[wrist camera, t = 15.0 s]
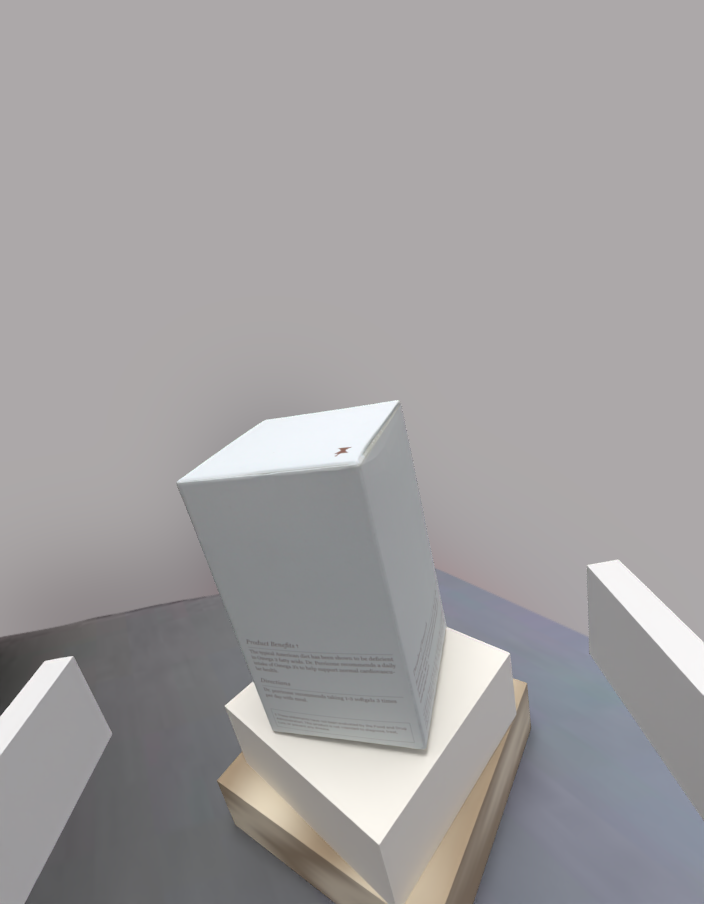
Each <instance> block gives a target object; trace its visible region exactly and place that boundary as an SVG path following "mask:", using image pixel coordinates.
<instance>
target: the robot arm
mask: <svg viewBox="0 0 704 904" xmlns="http://www.w3.org/2000/svg"><path fill="white" fill-rule="evenodd" d="M587 588H588V625H589V654H590V655H591V657H592V658H593V660H594V661H595V662H596V664H597V665H598V667H599V668H600V670H601V671H602V673H603V674H604V676H605V677H606V679H607V680H608V681H609V683H610V684H611V686H612V687H613V689H614V690H615V692H616V693H617V695H618V696H619V698H620V699H621V700H622V702H623V703H624V705H625V706H626V708H627V709H628V711H629V712H630V714H631V715H632V717H633V718H634V719H635V721H636V722H637V724H638V725H639V727H640V728H641V730H642V731H643V733H644V734H645V735H646V737H647V738H648V740H649V741H650V743H651V744H652V746H653V747H654V749H655V750H656V752H657V753H658V754H659V756H660V757H661V759H662V760H663V762H664V763H665V765H666V766H667V768H668V769H669V771H670V772H671V773H672V775H673V776H674V778H675V779H676V781H677V782H678V784H679V785H680V787H681V788H682V790H683V791H684V792H685V794H686V795H687V797H688V798H689V800H690V801H691V803H692V804H693V806H694V807H695V809H696V810H697V811H698V813H699V814H700V816H701V817H702V819H703V820H704V642H703V641H702V640H701V639H700V638H699V637H698V636H697V635H696V634H695V633H693V632H692V631H691V630H690V629H689V628H688V627H687V626H686V625H685V624H684V623H683V622H682V621H681V620H680V619H679V618H678V617H677V616H676V615H675V614H674V613H673V612H672V611H671V610H670V609H669V608H668V607H667V606H666V605H665V604H664V603H663V602H661V600H659V599H658V598H657V597H656V596H655V595H654V594H653V593H652V592H651V591H650V590H649V589H648V588H647V587H646V586H645V585H644V584H643V583H642V582H641V581H640V580H639V579H638V578H637V577H636V576H635V575H634V574H633V573H632V572H631V571H629V570H628V568H626V567H625V566H624V565H623V564H622V563H621V562H620V561H619V560H613V561H608V562H602V563H596V564H591V565H587ZM111 735H112V732H111V730H110V728H109V726H108V724H107V722H106V720H105V718H104V716H103V714H102V712H101V710H100V708H99V706H98V704H97V702H96V700H95V698H94V696H93V694H92V692H91V690H90V688H89V686H88V684H87V682H86V680H85V678H84V676H83V674H82V672H81V670H80V668H79V666H78V664H77V662H76V660H75V658H74V656H70V657H65V658H59V659H53V660H48V661H44V663H43V664H42V665H41V666H40V668H39V669H38V670H37V671H36V673H35V674H34V675H33V676H32V678H31V679H30V680H29V681H28V683H27V684H26V685H25V686H24V688H23V689H22V690H21V691H20V693H19V694H18V695H17V696H16V698H15V699H14V700H13V701H12V703H11V704H10V705H9V706H8V708H7V709H6V710H5V711H4V713H3V714H2V715H1V716H0V904H25V902H26V900H27V898H28V896H29V894H30V892H31V890H32V888H33V886H34V884H35V882H36V880H37V878H38V877H39V875H40V873H41V871H42V869H43V867H44V865H45V863H46V861H47V859H48V857H49V855H50V853H51V851H52V849H53V848H54V846H55V844H56V842H57V840H58V838H59V836H60V834H61V832H62V830H63V828H64V826H65V824H66V822H67V820H68V819H69V817H70V815H71V813H72V811H73V809H74V807H75V805H76V803H77V801H78V799H79V797H80V795H81V793H82V791H83V790H84V788H85V786H86V784H87V782H88V780H89V778H90V776H91V774H92V772H93V770H94V768H95V766H96V764H97V762H98V761H99V759H100V757H101V755H102V753H103V751H104V749H105V747H106V745H107V743H108V741H109V739H110V737H111Z"/></svg>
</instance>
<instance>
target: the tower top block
mask: <svg viewBox="0 0 704 904" xmlns="http://www.w3.org/2000/svg"><path fill="white" fill-rule="evenodd" d="M225 708H226V711H227V713H228V716H229V719H230V721H231V724H232V726H233V729H234V731H235V734H236V736H237V739H238V742H239V744H240V747H241V749H242V752H243V754H244V757H245V760H246V762H247V764H248V765H249V766H250V767H251V768H252V769H253V770H254V771H255V772H256V773H257V774H258V775H259V776H260V777H261V778H262V779H263V780H264V781H265V782H266V783H267V784H268V785H269V786H270V787H271V788H272V789H273V790H274V791H275V792H276V793H277V794H278V795H280V796H281V797H282V798H283V799H284V800H285V801H286V802H287V803H288V804H289V805H290V806H291V807H292V808H293V809H294V810H295V811H296V812H297V813H298V814H299V815H300V816H301V817H302V818H303V819H304V820H305V821H306V822H307V823H308V824H309V825H310V826H311V827H312V828H313V829H314V830H315V831H316V832H317V833H318V834H319V835H320V836H321V837H322V838H323V839H324V840H325V841H326V842H327V843H328V844H329V845H330V846H331V847H332V848H333V849H334V850H335V851H336V852H337V853H338V854H339V855H340V856H341V857H342V858H343V859H344V860H345V861H346V862H347V863H348V864H349V865H350V866H351V867H352V868H353V869H354V870H355V871H356V872H357V873H358V874H359V875H360V876H361V877H362V878H363V879H364V880H365V881H366V882H367V883H368V884H369V885H370V886H371V887H372V888H373V889H374V890H375V891H376V892H377V893H378V894H379V895H380V896H381V897H382V898H383V899H384V900H385V901H386V902H387V903H388V904H405V902H406V900H407V899H408V897H409V895H410V894H411V892H412V890H413V888H414V887H415V885H416V883H417V882H418V880H419V878H420V877H421V875H422V873H423V872H424V870H425V868H426V866H427V865H428V863H429V861H430V860H431V858H432V856H433V855H434V853H435V851H436V850H437V848H438V846H439V844H440V843H441V841H442V839H443V838H444V836H445V834H446V833H447V831H448V829H449V828H450V826H451V824H452V823H453V821H454V819H455V817H456V816H457V814H458V812H459V811H460V809H461V807H462V806H463V804H464V802H465V801H466V799H467V797H468V795H469V794H470V792H471V790H472V789H473V787H474V785H475V784H476V782H477V780H478V779H479V777H480V775H481V773H482V772H483V770H484V768H485V767H486V765H487V763H488V762H489V760H490V758H491V757H492V755H493V753H494V751H495V750H496V748H497V746H498V745H499V743H500V741H501V740H502V738H503V736H504V735H505V733H506V731H507V730H508V728H509V726H510V724H511V723H512V721H513V719H514V718H515V716H516V705H515V695H514V686H513V677H512V667H511V658H510V653H508V652H506V651H503V650H501V649H499V648H496V647H494V646H491V645H489V644H487V643H484V642H482V641H479V640H477V639H475V638H472V637H470V636H467V635H465V634H462V633H460V632H458V631H455V630H453V629H450V628H448V627H446V630H445V636H444V643H443V649H442V656H441V661H440V668H439V674H438V680H437V686H436V693H435V699H434V704H433V710H432V717H431V724H430V729H429V735H428V741H427V747H426V749H424V750H423V749H414V748H407V747H400V746H392V745H383V744H376V743H368V742H360V741H352V740H344V739H336V738H328V737H320V736H312V735H303V734H295V733H287V732H277V731H273V730H272V728H271V725H270V723H269V720H268V718H267V715H266V713H265V710H264V707H263V705H262V702H261V700H260V697H259V695H258V692H257V689H256V687H255V684H254V682H252V683H251V684H250V685H248V686H247V687H246V688H245V689H244V690H243V691H241V692H240V693H239V694H238V695H237V696H236V697H234V698H233V699H232V700H231V701H230V702H229V703H228V704H226V705H225Z"/></svg>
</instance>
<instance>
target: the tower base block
mask: <svg viewBox="0 0 704 904" xmlns="http://www.w3.org/2000/svg"><path fill="white" fill-rule="evenodd" d="M513 686H514V695H515V705H516V716H515V718H514V719H513V721H512V723H511V724H510V726H509V728H508V730H507V731H506V733H505V735H504V736H503V738H502V740H501V741H500V743H499V745H498V746H497V748H496V750H495V751H494V753H493V755H492V757H491V758H490V760H489V762H488V763H487V765H486V767H485V768H484V770H483V772H482V773H481V775H480V777H479V779H478V780H477V782H476V784H475V785H474V787H473V789H472V790H471V792H470V794H469V795H468V797H467V799H466V801H465V802H464V804H463V806H462V807H461V809H460V811H459V812H458V814H457V816H456V817H455V819H454V821H453V823H452V824H451V826H450V828H449V829H448V831H447V833H446V834H445V836H444V838H443V839H442V841H441V843H440V844H439V846H438V848H437V850H436V851H435V853H434V855H433V856H432V858H431V860H430V861H429V863H428V865H427V866H426V868H425V870H424V872H423V873H422V875H421V877H420V878H419V880H418V882H417V883H416V885H415V887H414V888H413V890H412V892H411V894H410V895H409V897H408V899H407V900H406V902H405V904H473V902H474V899H475V896H476V893H477V890H478V887H479V884H480V881H481V878H482V875H483V872H484V869H485V866H486V863H487V860H488V857H489V854H490V851H491V848H492V845H493V842H494V839H495V836H496V833H497V830H498V827H499V824H500V821H501V818H502V815H503V811H504V808H505V805H506V802H507V799H508V796H509V793H510V790H511V787H512V784H513V781H514V778H515V775H516V772H517V769H518V766H519V763H520V760H521V757H522V754H523V751H524V748H525V745H526V742H527V739H528V736H529V733H530V730H531V723H530V712H529V700H528V689H527V683H525V682H522V681H519V680H516V679H513ZM217 782H218V784H219V787H220V789H221V791H222V794H223V796H224V799H225V801H226V803H227V806H228V808H229V811H230V813H231V815H232V818H233V820H234V823H235V825H236V826H238V827H239V828H240V829H242V830H243V831H244V832H245V833H247V834H248V835H249V836H250V837H252V838H253V839H254V840H256V841H257V842H258V843H259V844H261V845H262V846H263V847H264V848H266V849H267V850H268V851H270V852H271V853H272V854H273V855H275V856H276V857H277V858H278V859H280V860H281V861H282V862H284V863H285V864H286V865H287V866H289V867H290V868H291V869H292V870H294V871H295V872H296V873H298V874H299V875H300V876H301V877H303V878H304V879H305V880H306V881H308V882H309V883H310V884H312V885H313V886H314V887H315V888H317V889H318V890H319V891H320V892H322V893H323V894H324V895H326V896H327V897H328V898H329V899H331V900H332V901H333V902H334V903H336V904H388V903H387V902H386V901H385V900H384V899H383V898H382V897H381V896H380V895H379V894H378V893H377V892H376V891H375V890H374V889H373V888H372V887H371V886H370V885H369V884H368V883H367V882H366V881H365V880H364V879H363V878H362V877H361V876H360V875H359V874H358V873H357V872H356V871H355V870H354V869H353V868H352V867H351V866H350V865H349V864H348V863H347V862H346V861H345V860H344V859H343V858H342V857H341V856H340V855H339V854H338V853H337V852H336V851H335V850H334V849H333V848H332V847H331V846H330V845H329V844H328V843H327V842H326V841H325V840H324V839H323V838H322V837H321V836H320V835H319V834H318V833H317V832H316V831H315V830H314V829H313V828H312V827H311V826H310V825H309V824H308V823H307V822H306V821H305V820H304V819H303V818H302V817H301V816H300V815H299V814H298V813H297V812H296V811H295V810H294V809H293V808H292V807H291V806H290V805H289V804H288V803H287V802H286V801H285V800H284V799H283V798H282V797H281V796H280V795H278V794H277V793H276V792H275V791H274V790H273V789H272V788H271V787H270V786H269V785H268V784H267V783H266V782H265V781H264V780H263V779H262V778H261V777H260V776H259V775H258V774H257V773H256V772H255V771H254V770H253V769H252V768H251V767H250V766H249V765H248V764H247V762H246V760H245V757H244V754H243V752H241V753H240V754H239V756H238V757H237V758H236V759H235V760H234V762H233V763H232V764H231V765H230V766H229V767H228V769H227V770H226V771H225V772H224V773H223V774H222V776H221V777H220V778H219V779H218V780H217Z"/></svg>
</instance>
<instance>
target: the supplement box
mask: <svg viewBox="0 0 704 904" xmlns="http://www.w3.org/2000/svg"><path fill="white" fill-rule="evenodd" d="M176 484H177V487H178V489H179V491H180V494H181V496H182V499H183V501H184V503H185V506H186V509H187V511H188V514H189V516H190V519H191V521H192V524H193V526H194V529H195V531H196V534H197V537H198V540H199V542H200V545H201V547H202V550H203V552H204V554H205V558H206V560H207V563H208V565H209V568H210V570H211V573H212V576H213V578H214V581H215V583H216V586H217V588H218V591H219V594H220V597H221V599H222V602H223V604H224V607H225V610H226V612H227V615H228V617H229V620H230V623H231V625H232V628H233V630H234V633H235V636H236V638H237V641H238V643H239V646H240V648H241V651H242V653H243V656H244V659H245V661H246V664H247V667H248V669H249V671H250V674H251V677H252V679H253V682H254V684H255V687H256V689H257V692H258V695H259V697H260V700H261V702H262V705H263V707H264V710H265V713H266V715H267V718H268V720H269V723H270V725H271V728H272V730H273V731H277V732H287V733H295V734H303V735H312V736H320V737H328V738H336V739H344V740H352V741H360V742H368V743H376V744H383V745H392V746H400V747H407V748H414V749H423V750H424V749H426V747H427V741H428V735H429V729H430V724H431V717H432V710H433V704H434V699H435V693H436V686H437V680H438V674H439V668H440V661H441V656H442V649H443V643H444V636H445V630H446V620H445V616H444V611H443V607H442V602H441V597H440V592H439V587H438V582H437V577H436V572H435V567H434V562H433V558H432V554H431V548H430V543H429V538H428V534H427V528H426V524H425V519H424V513H423V508H422V503H421V499H420V493H419V488H418V483H417V478H416V474H415V469H414V464H413V460H412V454H411V449H410V445H409V440H408V436H407V430H406V425H405V421H404V416H403V411H402V406H401V403H400V401H399V400H396V401H389V402H383V403H377V404H372V405H364V406H358V407H352V408H345V409H338V410H331V411H325V412H318V413H311V414H304V415H297V416H291V417H284V418H277V419H269V420H264V421H263V422H261V423H260V424H258V425H256V426H255V427H254V428H252V429H251V430H249V431H248V432H246V433H245V434H243V435H242V436H240V437H239V438H238V439H236V440H235V441H233V442H232V443H230V444H229V445H227V446H226V447H225V448H223V449H222V450H221V451H219V452H218V453H216V454H215V455H213V456H212V457H210V458H209V459H208V460H206V461H205V462H203V463H202V464H201V465H199V466H198V467H197V468H195V469H194V470H193V471H191V472H190V473H188V474H187V475H186V476H184V477H183V478H181V479H180V480H178V481H177V482H176Z"/></svg>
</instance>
